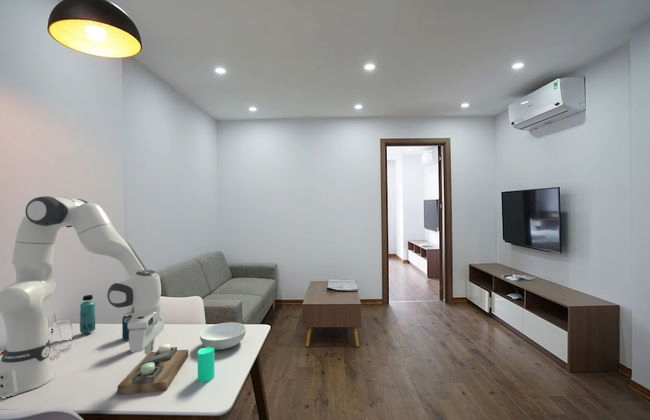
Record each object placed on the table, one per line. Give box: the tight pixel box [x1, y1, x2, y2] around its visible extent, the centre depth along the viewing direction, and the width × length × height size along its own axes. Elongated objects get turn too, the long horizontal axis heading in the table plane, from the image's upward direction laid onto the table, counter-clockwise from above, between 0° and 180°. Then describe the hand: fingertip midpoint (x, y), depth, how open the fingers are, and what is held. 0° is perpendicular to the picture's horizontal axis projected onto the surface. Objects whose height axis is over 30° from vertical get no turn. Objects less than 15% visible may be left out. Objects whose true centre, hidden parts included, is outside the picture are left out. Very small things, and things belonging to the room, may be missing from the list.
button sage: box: [141, 362, 155, 375], centre depth 110 cm, size 4×4×2 cm
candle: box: [197, 347, 215, 383], centre depth 114 cm, size 6×6×12 cm
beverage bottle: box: [79, 294, 97, 334], centre depth 156 cm, size 6×7×20 cm
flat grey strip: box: [140, 351, 172, 366], centre depth 117 cm, size 10×4×1 cm, turn 98°
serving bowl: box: [199, 322, 247, 350], centre depth 142 cm, size 21×21×7 cm
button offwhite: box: [158, 342, 172, 354], centre depth 125 cm, size 4×4×2 cm
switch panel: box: [117, 346, 189, 395], centre depth 117 cm, size 16×25×5 cm, turn 8°
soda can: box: [121, 311, 134, 341], centre depth 150 cm, size 7×7×12 cm
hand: (149, 352), depth 110 cm, fingers closed
